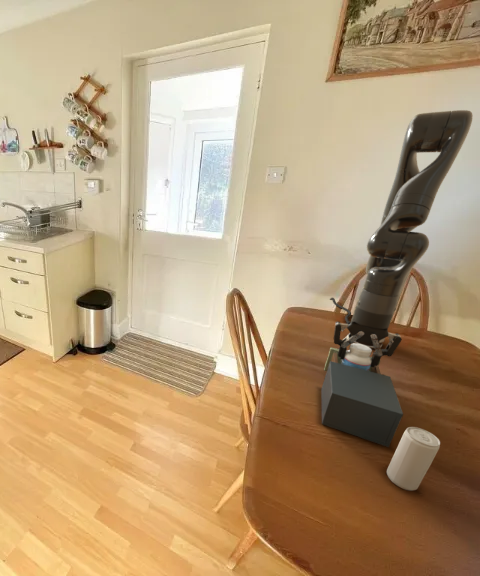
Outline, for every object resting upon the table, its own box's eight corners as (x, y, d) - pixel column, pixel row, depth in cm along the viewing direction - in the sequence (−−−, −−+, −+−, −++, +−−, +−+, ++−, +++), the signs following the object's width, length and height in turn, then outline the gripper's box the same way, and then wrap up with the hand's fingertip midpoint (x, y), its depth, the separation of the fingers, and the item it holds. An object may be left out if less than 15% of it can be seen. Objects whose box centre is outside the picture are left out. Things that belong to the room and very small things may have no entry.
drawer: (323, 359, 101) (330, 339, 98) (368, 371, 95) (376, 349, 93) (324, 395, 86) (332, 371, 83) (378, 412, 80) (388, 387, 77)
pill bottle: (367, 389, 86) (381, 354, 82) (343, 386, 87) (354, 352, 83) (355, 376, 92) (367, 342, 88) (332, 373, 93) (342, 340, 89)
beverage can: (409, 474, 65) (431, 429, 60) (423, 495, 60) (448, 449, 56) (381, 467, 66) (400, 423, 62) (392, 488, 62) (414, 442, 58)
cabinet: (321, 389, 89) (330, 360, 86) (378, 406, 83) (390, 376, 79) (321, 424, 77) (332, 392, 74) (388, 447, 71) (403, 414, 67)
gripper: (409, 308, 80) (387, 363, 86) (339, 296, 88) (324, 348, 94) (416, 319, 74) (392, 377, 81) (341, 306, 82) (325, 360, 88)
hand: (356, 361), depth 87 cm, fingers closed on pill bottle, 6 cm apart
